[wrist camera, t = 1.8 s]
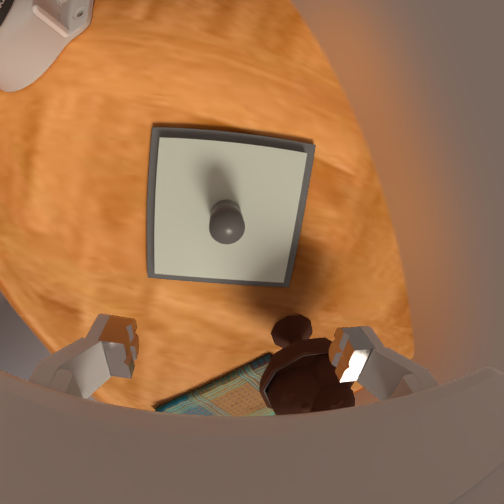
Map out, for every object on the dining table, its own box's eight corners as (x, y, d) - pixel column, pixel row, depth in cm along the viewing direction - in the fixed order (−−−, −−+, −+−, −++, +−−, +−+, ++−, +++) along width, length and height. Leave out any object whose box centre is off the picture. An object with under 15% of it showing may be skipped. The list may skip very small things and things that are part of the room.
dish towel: (151, 405, 40) (149, 416, 38) (267, 348, 37) (270, 361, 34) (214, 442, 46) (215, 452, 44) (318, 398, 43) (322, 409, 41)
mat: (153, 127, 24) (152, 127, 23) (314, 144, 26) (315, 144, 26) (148, 275, 30) (147, 277, 29) (287, 285, 32) (288, 287, 32)
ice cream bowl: (324, 284, 33) (380, 373, 19) (334, 346, 37) (374, 429, 24) (240, 312, 33) (255, 416, 19) (264, 369, 38) (283, 460, 24)
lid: (161, 137, 24) (149, 137, 19) (304, 152, 26) (321, 156, 22) (156, 270, 29) (146, 293, 25) (282, 279, 31) (292, 302, 27)
